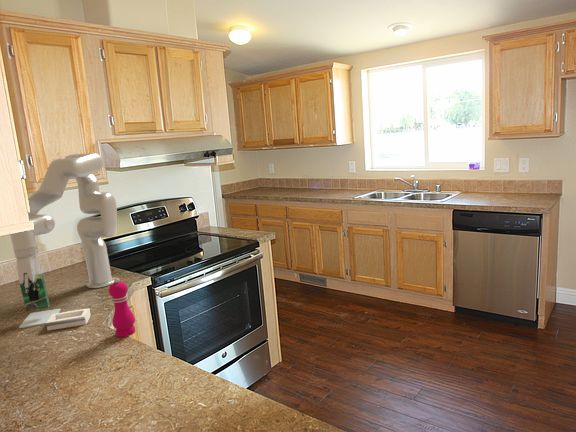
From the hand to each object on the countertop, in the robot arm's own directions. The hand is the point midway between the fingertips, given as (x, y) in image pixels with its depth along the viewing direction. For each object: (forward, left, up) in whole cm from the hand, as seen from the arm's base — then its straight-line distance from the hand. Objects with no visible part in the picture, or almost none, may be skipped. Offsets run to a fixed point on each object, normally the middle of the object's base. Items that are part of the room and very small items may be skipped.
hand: (36, 298), depth 165 cm
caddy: (+9, +13, -9) cm, 18 cm away
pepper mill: (+27, +35, -9) cm, 45 cm away
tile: (0, 0, -9) cm, 9 cm away
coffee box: (0, 0, -5) cm, 5 cm away
